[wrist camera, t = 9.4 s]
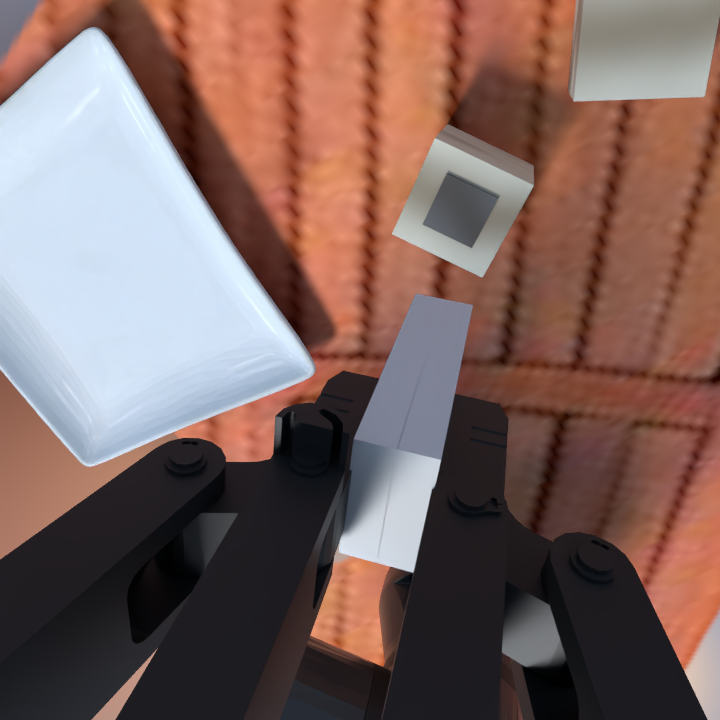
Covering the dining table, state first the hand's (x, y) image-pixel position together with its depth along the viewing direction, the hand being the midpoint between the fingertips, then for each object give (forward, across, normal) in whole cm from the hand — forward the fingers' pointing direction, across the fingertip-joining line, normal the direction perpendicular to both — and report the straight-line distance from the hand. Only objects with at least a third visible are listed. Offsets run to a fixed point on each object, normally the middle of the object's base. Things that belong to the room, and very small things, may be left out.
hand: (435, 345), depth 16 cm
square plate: (+27, +28, +14) cm, 41 cm away
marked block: (+27, +1, +2) cm, 27 cm away
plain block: (+27, -6, -8) cm, 28 cm away
